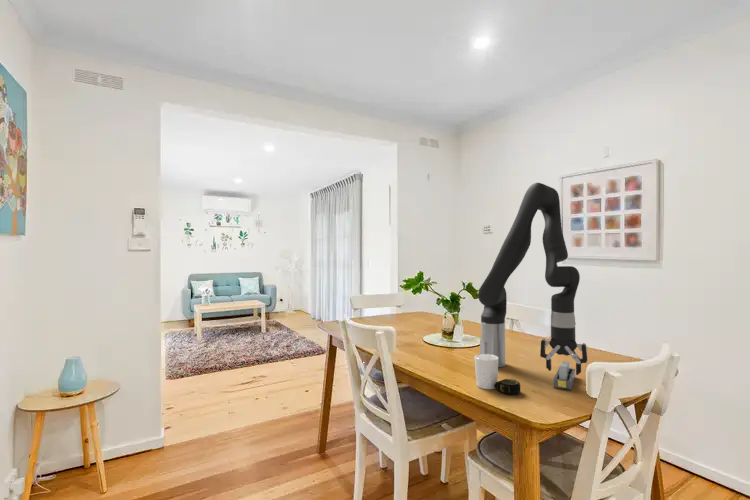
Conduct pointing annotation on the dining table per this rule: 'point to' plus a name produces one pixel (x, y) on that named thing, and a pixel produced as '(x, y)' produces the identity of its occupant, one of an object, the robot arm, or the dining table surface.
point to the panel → (563, 372)
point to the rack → (564, 383)
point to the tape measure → (508, 386)
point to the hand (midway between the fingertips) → (563, 372)
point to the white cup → (486, 370)
